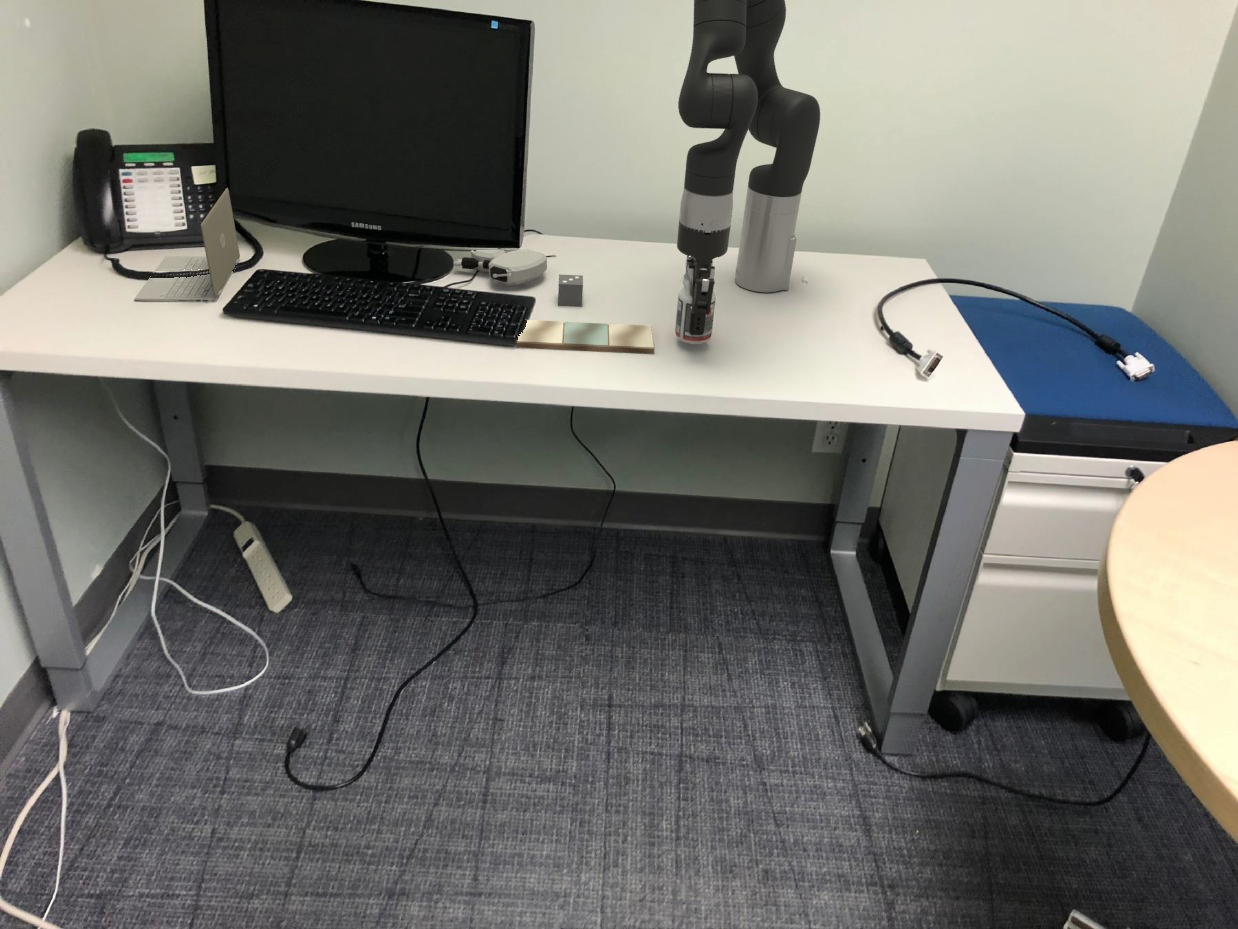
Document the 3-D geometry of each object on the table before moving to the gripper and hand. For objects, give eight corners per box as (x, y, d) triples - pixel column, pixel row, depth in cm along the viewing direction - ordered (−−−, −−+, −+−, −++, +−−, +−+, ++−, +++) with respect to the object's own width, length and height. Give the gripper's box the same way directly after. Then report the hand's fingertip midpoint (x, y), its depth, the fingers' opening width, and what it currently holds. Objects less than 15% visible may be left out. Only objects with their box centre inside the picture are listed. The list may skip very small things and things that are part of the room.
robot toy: (449, 278, 165) (514, 297, 158) (447, 253, 163) (512, 271, 155) (496, 260, 174) (559, 276, 166) (495, 236, 171) (559, 251, 164)
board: (651, 330, 150) (651, 325, 150) (654, 353, 144) (654, 347, 143) (519, 324, 149) (519, 319, 148) (516, 347, 142) (516, 341, 142)
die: (581, 297, 160) (582, 275, 157) (581, 307, 156) (582, 284, 154) (558, 296, 159) (559, 274, 157) (557, 306, 156) (558, 283, 154)
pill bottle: (718, 337, 147) (725, 277, 141) (696, 348, 143) (703, 288, 138) (689, 325, 150) (695, 266, 144) (667, 336, 146) (672, 276, 141)
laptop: (166, 259, 162) (149, 185, 155) (241, 261, 164) (229, 187, 157) (134, 303, 147) (114, 222, 140) (217, 303, 149) (202, 224, 142)
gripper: (674, 201, 142) (665, 304, 151) (684, 236, 130) (674, 345, 139) (724, 203, 142) (712, 306, 152) (738, 238, 130) (724, 347, 140)
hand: (693, 324), depth 145 cm, fingers closed on pill bottle, 5 cm apart
